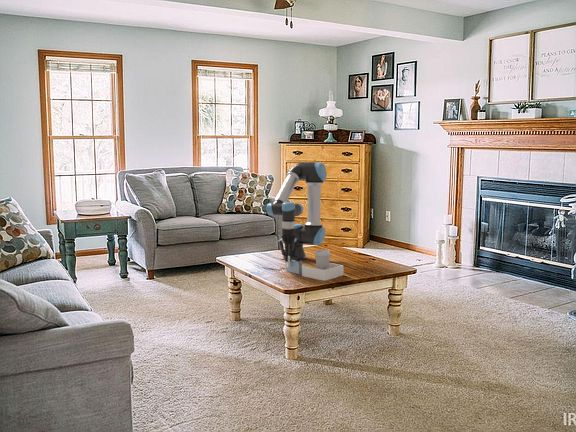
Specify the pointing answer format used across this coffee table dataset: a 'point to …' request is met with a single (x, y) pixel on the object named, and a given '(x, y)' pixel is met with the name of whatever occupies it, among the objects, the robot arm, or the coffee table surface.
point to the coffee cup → (322, 259)
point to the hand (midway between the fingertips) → (288, 266)
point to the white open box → (322, 272)
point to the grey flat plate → (294, 267)
